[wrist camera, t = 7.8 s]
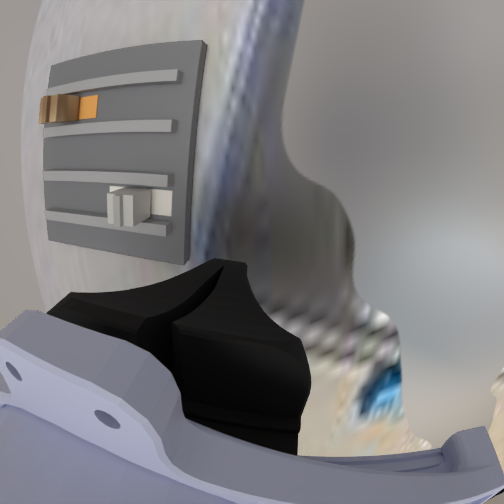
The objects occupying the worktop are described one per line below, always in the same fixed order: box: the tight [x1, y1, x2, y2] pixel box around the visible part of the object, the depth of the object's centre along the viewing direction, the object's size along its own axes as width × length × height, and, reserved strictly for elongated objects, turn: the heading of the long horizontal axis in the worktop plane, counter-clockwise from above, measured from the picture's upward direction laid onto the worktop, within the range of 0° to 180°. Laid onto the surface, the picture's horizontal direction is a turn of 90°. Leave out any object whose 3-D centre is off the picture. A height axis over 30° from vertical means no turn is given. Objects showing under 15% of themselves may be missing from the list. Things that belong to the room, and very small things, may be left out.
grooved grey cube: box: [107, 187, 151, 227], centre depth 18 cm, size 2×2×3 cm
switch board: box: [43, 40, 207, 265], centre depth 19 cm, size 16×14×2 cm
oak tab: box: [39, 94, 79, 124], centre depth 16 cm, size 2×2×3 cm
